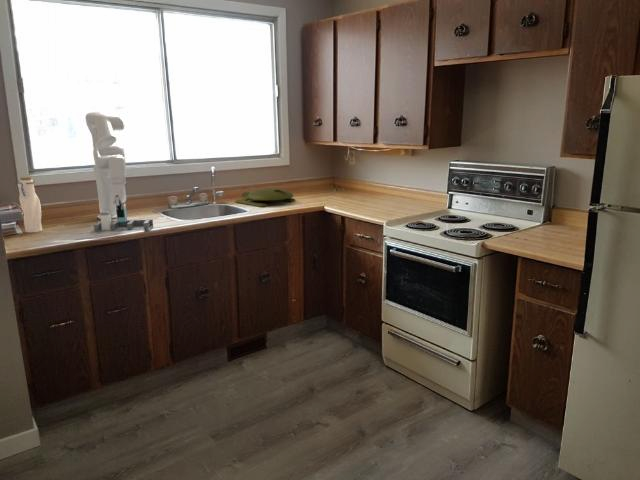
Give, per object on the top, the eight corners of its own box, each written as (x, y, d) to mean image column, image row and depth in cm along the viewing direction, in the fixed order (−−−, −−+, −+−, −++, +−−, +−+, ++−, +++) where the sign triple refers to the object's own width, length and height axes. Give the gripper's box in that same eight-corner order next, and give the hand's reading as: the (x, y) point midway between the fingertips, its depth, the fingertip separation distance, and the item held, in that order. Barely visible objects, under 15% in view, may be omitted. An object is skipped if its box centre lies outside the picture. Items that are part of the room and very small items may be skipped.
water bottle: (41, 232, 261) (33, 178, 254) (21, 234, 259) (13, 178, 252) (45, 228, 271) (38, 175, 264) (26, 229, 268) (18, 176, 261)
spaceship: (233, 203, 341) (232, 188, 338) (268, 197, 363) (267, 183, 360) (268, 209, 318) (267, 193, 315) (303, 202, 339) (302, 188, 337)
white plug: (104, 228, 265) (101, 211, 262) (112, 227, 265) (110, 210, 263) (101, 229, 261) (99, 212, 258) (110, 229, 261) (108, 212, 259)
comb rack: (98, 228, 268) (97, 221, 267) (153, 226, 272) (152, 219, 271) (91, 234, 257) (90, 226, 256) (149, 231, 260) (148, 223, 259)
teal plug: (119, 220, 264) (117, 203, 262) (127, 220, 265) (125, 202, 263) (117, 221, 261) (115, 204, 259) (125, 221, 261) (123, 204, 259)
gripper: (114, 179, 266) (118, 213, 270) (106, 183, 249) (110, 220, 254) (129, 178, 267) (132, 213, 271) (121, 182, 250) (126, 219, 255)
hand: (121, 216), depth 262 cm, fingers closed on teal plug, 4 cm apart
